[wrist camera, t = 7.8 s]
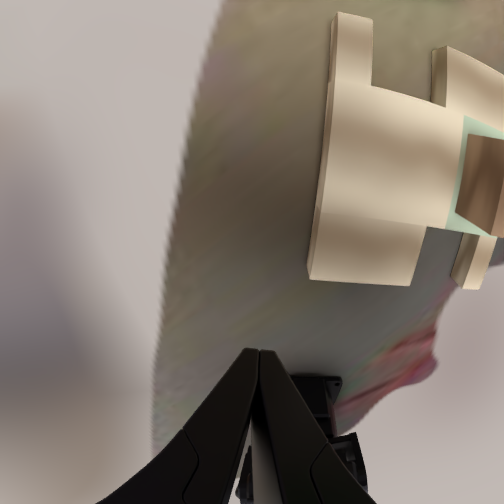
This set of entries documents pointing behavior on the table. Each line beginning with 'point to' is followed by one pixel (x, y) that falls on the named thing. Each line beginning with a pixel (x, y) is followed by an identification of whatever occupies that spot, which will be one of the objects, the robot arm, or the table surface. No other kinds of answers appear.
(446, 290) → the table surface
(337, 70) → the beige flat notched plate
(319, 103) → the table surface
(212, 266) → the table surface
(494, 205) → the block
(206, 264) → the table surface
